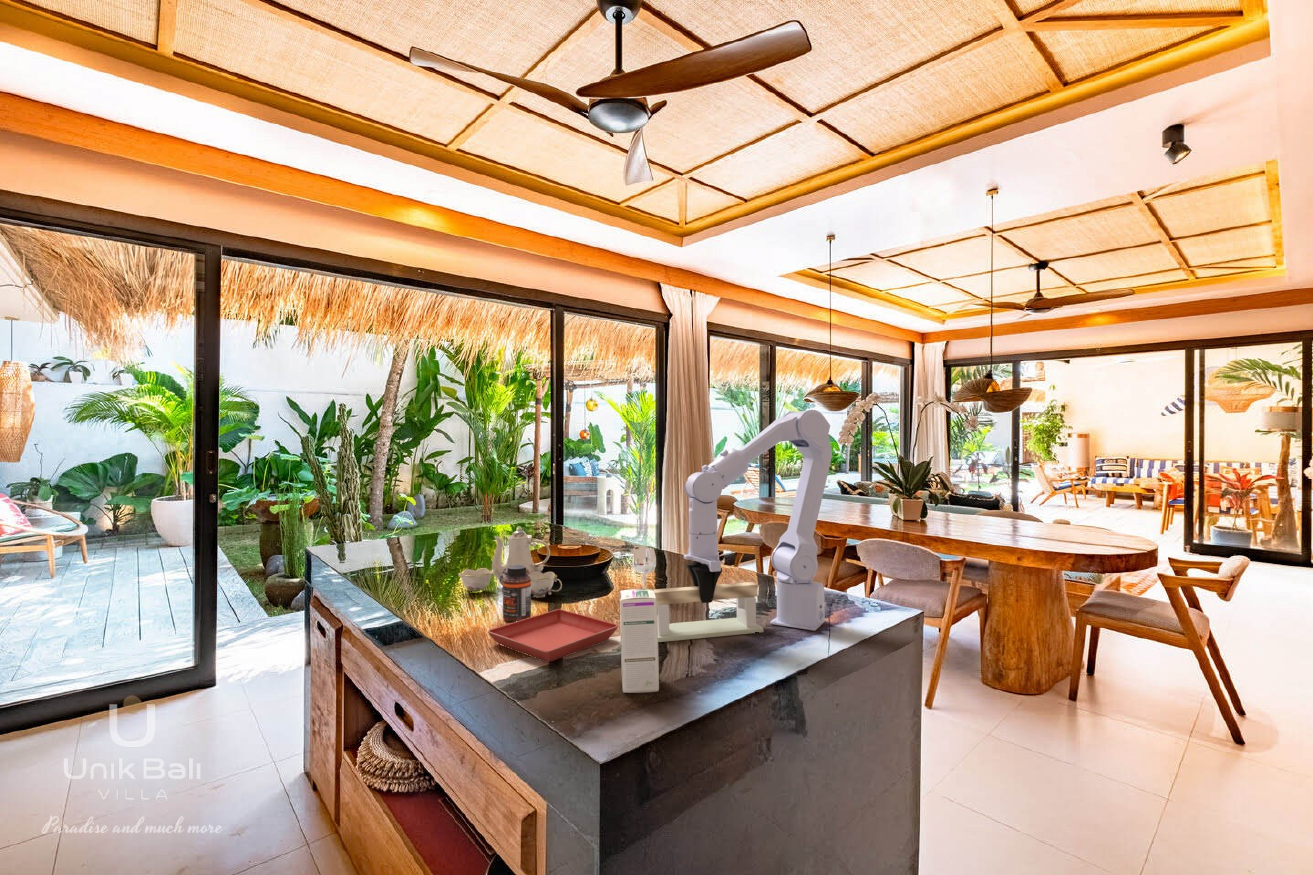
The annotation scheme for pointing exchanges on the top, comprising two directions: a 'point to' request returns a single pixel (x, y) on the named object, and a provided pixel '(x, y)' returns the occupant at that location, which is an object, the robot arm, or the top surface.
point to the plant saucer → (553, 634)
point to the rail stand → (709, 623)
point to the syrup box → (639, 641)
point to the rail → (693, 594)
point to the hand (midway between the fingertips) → (704, 600)
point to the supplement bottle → (516, 594)
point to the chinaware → (517, 556)
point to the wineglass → (644, 561)
